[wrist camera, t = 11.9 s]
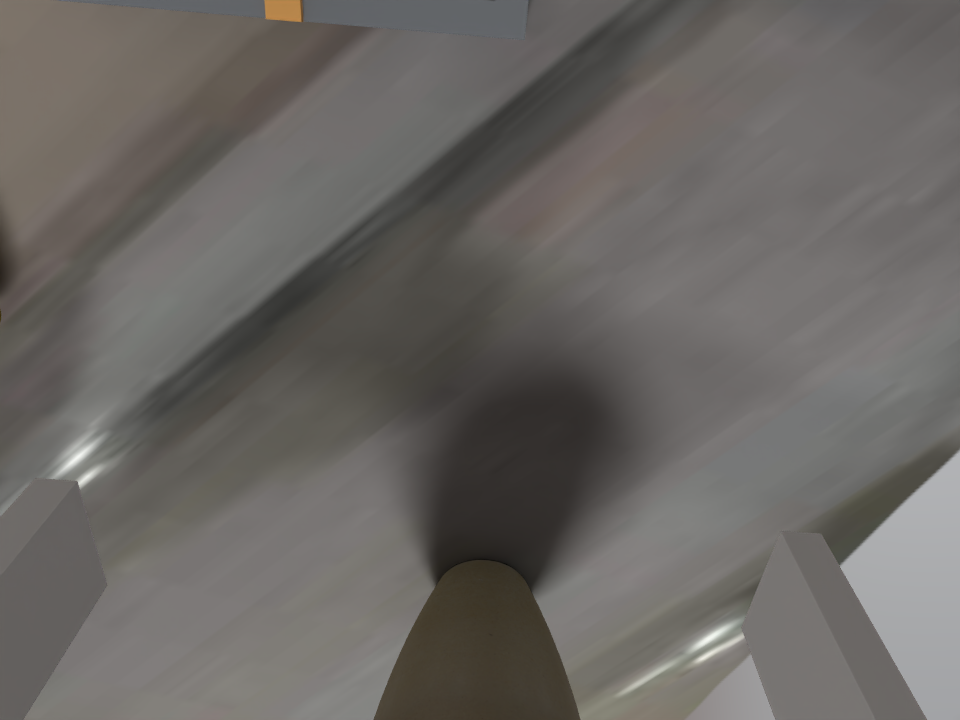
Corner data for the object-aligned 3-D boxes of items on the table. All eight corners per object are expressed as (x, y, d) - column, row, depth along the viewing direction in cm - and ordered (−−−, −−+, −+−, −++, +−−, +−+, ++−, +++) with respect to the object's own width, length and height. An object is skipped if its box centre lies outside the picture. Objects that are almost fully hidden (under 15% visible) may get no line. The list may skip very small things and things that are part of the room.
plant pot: (440, 496, 50) (419, 697, 36) (608, 567, 53) (648, 776, 40) (359, 614, 57) (316, 822, 43) (513, 671, 60) (519, 881, 46)
